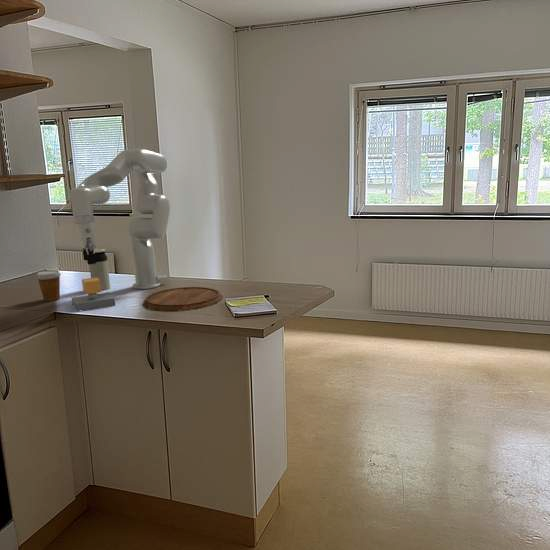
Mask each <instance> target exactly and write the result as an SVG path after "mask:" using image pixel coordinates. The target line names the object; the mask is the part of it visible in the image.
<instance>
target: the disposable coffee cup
mask: <svg viewBox="0 0 550 550" xmlns="http://www.w3.org/2000/svg"><path fill="white" fill-rule="evenodd" d="M61 274H62V273H60V270H58V269H57V270H54V269H53V270H44V271H39V272H37V274H36V278H37V280H38V284H39V287H40V291H41V294H42V295H41V296H42V299H43V301H44V302H47V301H49V302H56V301H58V300H60V299H61V298H60V295H61V294H60V293H61V292H60V288H61V287H60V286H61V285H60V282H61V281H60V280H61Z"/></svg>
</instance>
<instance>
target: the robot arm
mask: <svg viewBox="0 0 550 550" xmlns="http://www.w3.org/2000/svg"><path fill="white" fill-rule="evenodd" d="M167 167H168V162H167V158H166V157H165V156H164V155H163V154H161V153H158V152H155V151H152V150H149V149H146V148H132V149H131V148H130V149H129V148H128V149H124V150H121V151H120V152H119V153H118V154H117V155H116V156H115V157H114V158H113V159H112V160H111V161H110V162H109V163H108V165H106V167H103V168H102V169H100V170H98V171H96V172H94V173H92V174H90V175H88V176H86V178H84V179H83V180H82V181H81V182H80V183H79V184H78V186H77V187H75V188H74V187H73V188H71V189H70V190H69V196H70V197H69V198H70V202H71V208H72V209H71V210H72V215H73V223H74V225H76V226H77V231H78V237H79V243H80V246H81V247H82V257H83V260H84V261H87V265H88V266H89V265H90V264H96V257H95V252H94V249H97V246H98V245H97V241H96V240H97V239H96V235H95V229H94V225H93V224H94V223H95V216H94V209H93V205H105V204H106V203H107V202H108V201H109V200H110V197H111V191H110V190H109V187H114V186H116V185H118V184H120V183H122V182H123V181H124V180H125V178H127V176H128V175H129V174H130V173H131V172H132V171H133V173H134V174H135V176H136V178H137V181H138V188H137V189H138V191H137V194H136V195H137V196H136V201H135V212H136V213H137V214H139V215H140V216H144V217H135V218H133V219H131V220H130V221H129V223H128V225H127V230H128V235H129V238H130V243H131V249H132V258H133V259H132V260H133V268H134V270H133V271H134V281H135V283H133V284H132V288H133V289H138V290H146V289H147V290H148V289H153V288H158V287H159V286H160V285H161V281H166V280H168V276H167V275H157V268H156V257H155V248H154V245H153V242H152V241H151V240H161V239H162V238H164V237H165V235H166V232H167V229H168V222H169V218H170V217H169V216H170V211H171V210H170V209H171V203H170V201H169V199H168V197H167V196H165V195H164V194H158V188H159V185H158V182H157V180H156V178H155V176H154V174H162V173H164V172H166V170H167ZM148 216H149V217H148ZM151 216H152V217H151Z"/></svg>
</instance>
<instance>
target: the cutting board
mask: <svg viewBox="0 0 550 550" xmlns="http://www.w3.org/2000/svg"><path fill="white" fill-rule="evenodd" d="M222 300H223V295H222V294H221V293H220V291H219V290H217V289H215V288H213V287H206V286H204V287H203V286H183V287H174V288H168V289H163V290H159V291H155V292H152V293H151V294H149V295H147V296H146V297H145V299H144V301H143V307H144V306H145V307H144V308H146V307H147V308H146V309H148V308H150V309H149V310H151V309H154V310H153V311H157V310H163V311H162V312H179V311H178V310H186V311H191V310H190V309H194V310H199V309H198V308H200V309H204V308H203V307H205V308H208V307H207V306H209V307H212V306H214V305H216V304H219V303H220V302H221V301H222ZM218 302H219V303H218Z"/></svg>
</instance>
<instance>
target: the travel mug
mask: <svg viewBox="0 0 550 550" xmlns="http://www.w3.org/2000/svg"><path fill="white" fill-rule="evenodd" d="M94 252H95V257H96V264H90V265H88V266H89V273H90V275H89V276H90V278H95V277H97V278H98V279H99V280H100V285H101V291H106V289H107V290H108V289H110V288H111V284H110V282H111V281H110V272H109V263H108V256H107V255H106V249H105V248H94Z"/></svg>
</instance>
